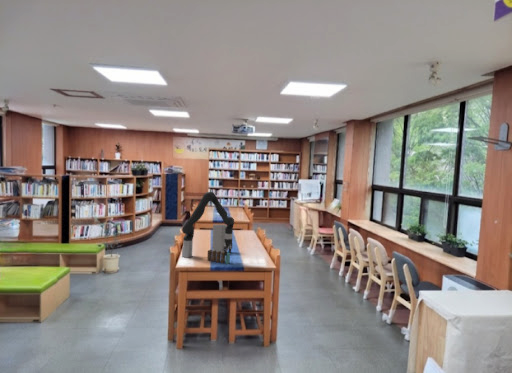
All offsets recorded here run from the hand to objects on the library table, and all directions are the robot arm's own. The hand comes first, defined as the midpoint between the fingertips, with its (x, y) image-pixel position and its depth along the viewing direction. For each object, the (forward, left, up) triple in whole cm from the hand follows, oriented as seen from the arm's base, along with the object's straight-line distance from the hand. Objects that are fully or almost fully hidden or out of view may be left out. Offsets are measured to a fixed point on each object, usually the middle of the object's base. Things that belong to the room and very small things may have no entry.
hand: (227, 254), depth 301 cm
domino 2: (-15, 0, -9) cm, 17 cm away
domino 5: (0, 0, -9) cm, 9 cm away
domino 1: (-20, 0, -9) cm, 22 cm away
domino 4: (-5, 0, -9) cm, 10 cm away
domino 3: (-10, 0, -9) cm, 13 cm away
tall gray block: (-26, +30, -9) cm, 41 cm away
